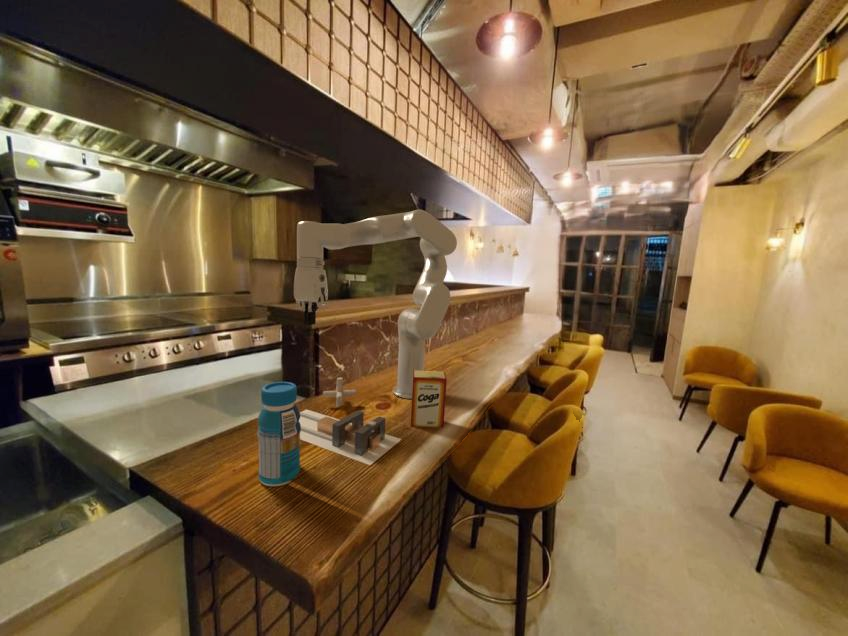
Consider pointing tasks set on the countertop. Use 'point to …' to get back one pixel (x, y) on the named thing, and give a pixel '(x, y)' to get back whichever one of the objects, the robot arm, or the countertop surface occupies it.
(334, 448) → the white rail board
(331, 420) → the bar
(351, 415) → the rear collar
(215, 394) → the countertop surface
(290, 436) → the beverage bottle
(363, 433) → the front collar
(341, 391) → the pipe connector
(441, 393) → the baking soda box
